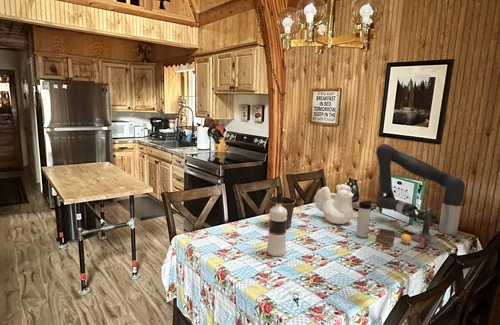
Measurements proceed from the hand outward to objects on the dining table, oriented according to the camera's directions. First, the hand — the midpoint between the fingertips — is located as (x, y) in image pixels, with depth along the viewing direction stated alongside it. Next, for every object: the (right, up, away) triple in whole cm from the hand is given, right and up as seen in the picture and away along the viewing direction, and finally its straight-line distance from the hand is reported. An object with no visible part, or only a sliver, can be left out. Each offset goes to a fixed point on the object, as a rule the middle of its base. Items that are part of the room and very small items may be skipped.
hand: (430, 218), depth 169 cm
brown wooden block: (-22, -12, +4) cm, 26 cm away
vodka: (-84, -14, -17) cm, 86 cm away
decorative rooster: (-44, -7, +32) cm, 55 cm away
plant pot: (-78, -8, +19) cm, 81 cm away
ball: (-13, -11, -1) cm, 17 cm away
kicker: (-3, -13, 0) cm, 14 cm away
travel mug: (-34, -11, +7) cm, 36 cm away
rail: (-8, -12, +7) cm, 16 cm away
